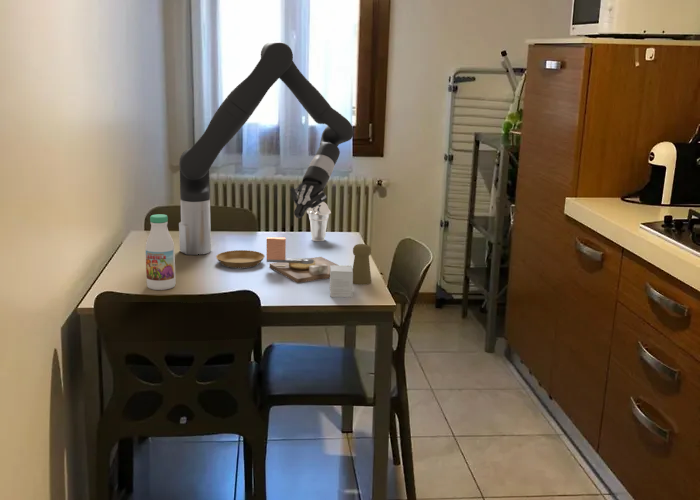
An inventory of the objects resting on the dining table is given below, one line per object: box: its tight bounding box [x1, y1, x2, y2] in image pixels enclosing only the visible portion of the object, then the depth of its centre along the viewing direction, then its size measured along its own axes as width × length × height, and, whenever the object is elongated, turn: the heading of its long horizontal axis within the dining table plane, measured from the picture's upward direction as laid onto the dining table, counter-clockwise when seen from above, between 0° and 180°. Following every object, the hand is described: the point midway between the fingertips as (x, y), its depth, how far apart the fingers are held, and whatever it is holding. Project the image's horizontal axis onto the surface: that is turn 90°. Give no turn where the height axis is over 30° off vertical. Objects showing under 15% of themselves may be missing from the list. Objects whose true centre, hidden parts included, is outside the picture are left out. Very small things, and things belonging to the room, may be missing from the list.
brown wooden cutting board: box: [269, 256, 338, 284], centre depth 229 cm, size 18×18×4 cm
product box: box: [329, 264, 354, 298], centre depth 209 cm, size 6×6×7 cm
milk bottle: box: [145, 213, 177, 291], centre depth 209 cm, size 8×8×20 cm
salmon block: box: [266, 236, 315, 270], centre depth 228 cm, size 14×8×8 cm, turn 89°
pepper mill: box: [352, 243, 372, 286], centre depth 219 cm, size 6×6×11 cm
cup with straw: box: [306, 201, 332, 242], centre depth 266 cm, size 8×9×20 cm
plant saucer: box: [215, 249, 265, 269], centre depth 236 cm, size 15×15×3 cm
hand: (297, 216), depth 235 cm, fingers closed
